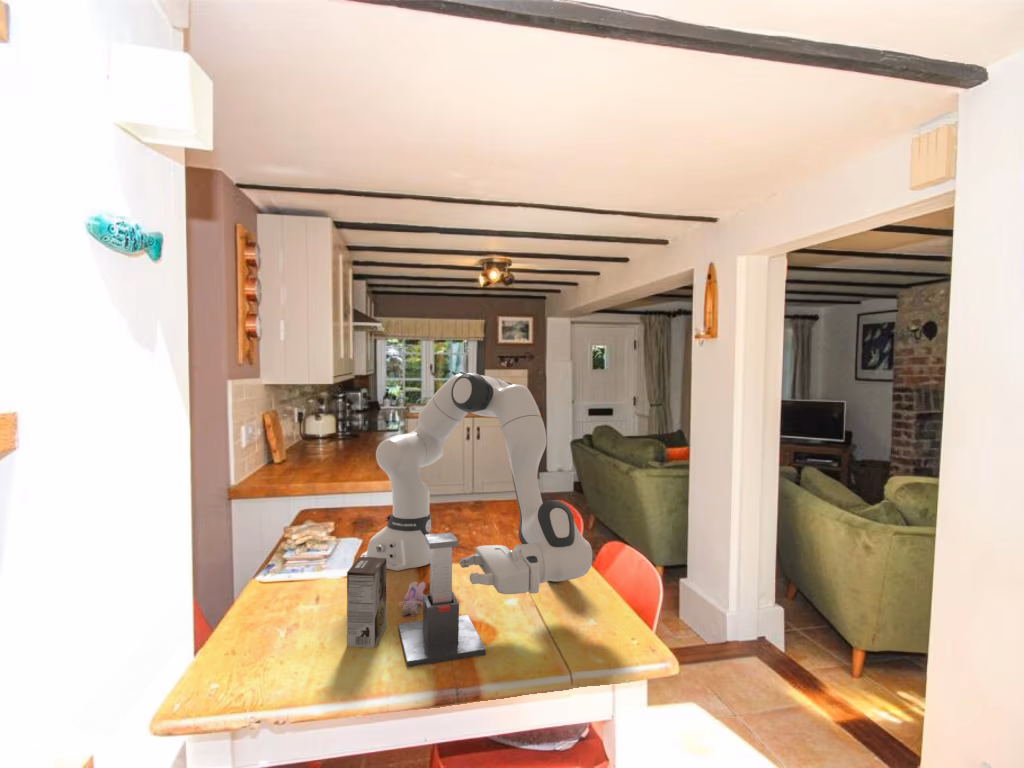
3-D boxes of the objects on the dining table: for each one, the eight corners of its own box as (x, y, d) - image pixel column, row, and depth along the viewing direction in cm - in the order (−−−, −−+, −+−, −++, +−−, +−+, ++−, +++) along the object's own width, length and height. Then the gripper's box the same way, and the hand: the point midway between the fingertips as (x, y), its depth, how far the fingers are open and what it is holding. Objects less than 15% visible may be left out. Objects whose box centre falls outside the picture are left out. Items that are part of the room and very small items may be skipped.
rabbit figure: (421, 624, 125) (431, 588, 140) (420, 602, 124) (431, 567, 139) (394, 624, 125) (407, 588, 140) (393, 601, 124) (407, 567, 139)
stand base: (407, 667, 105) (407, 621, 105) (398, 629, 120) (398, 588, 120) (485, 654, 110) (486, 610, 110) (467, 619, 125) (468, 580, 125)
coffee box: (358, 626, 121) (359, 556, 121) (387, 627, 121) (387, 556, 121) (345, 647, 112) (345, 571, 112) (375, 648, 112) (376, 572, 111)
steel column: (428, 643, 111) (429, 543, 111) (424, 630, 117) (425, 534, 116) (456, 639, 113) (458, 540, 113) (451, 626, 119) (452, 532, 118)
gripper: (510, 536, 131) (455, 541, 126) (541, 566, 111) (477, 573, 107) (510, 561, 131) (455, 567, 126) (540, 596, 111) (476, 604, 107)
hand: (465, 570), depth 116 cm, fingers open, 8 cm apart
